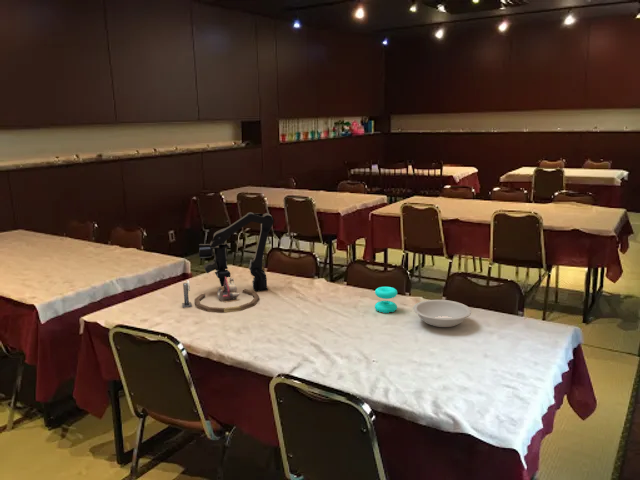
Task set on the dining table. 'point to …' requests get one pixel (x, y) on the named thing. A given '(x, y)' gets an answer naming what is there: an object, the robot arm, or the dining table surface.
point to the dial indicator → (186, 295)
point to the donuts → (386, 294)
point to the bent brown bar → (228, 309)
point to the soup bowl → (442, 312)
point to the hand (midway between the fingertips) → (222, 286)
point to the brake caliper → (228, 291)
